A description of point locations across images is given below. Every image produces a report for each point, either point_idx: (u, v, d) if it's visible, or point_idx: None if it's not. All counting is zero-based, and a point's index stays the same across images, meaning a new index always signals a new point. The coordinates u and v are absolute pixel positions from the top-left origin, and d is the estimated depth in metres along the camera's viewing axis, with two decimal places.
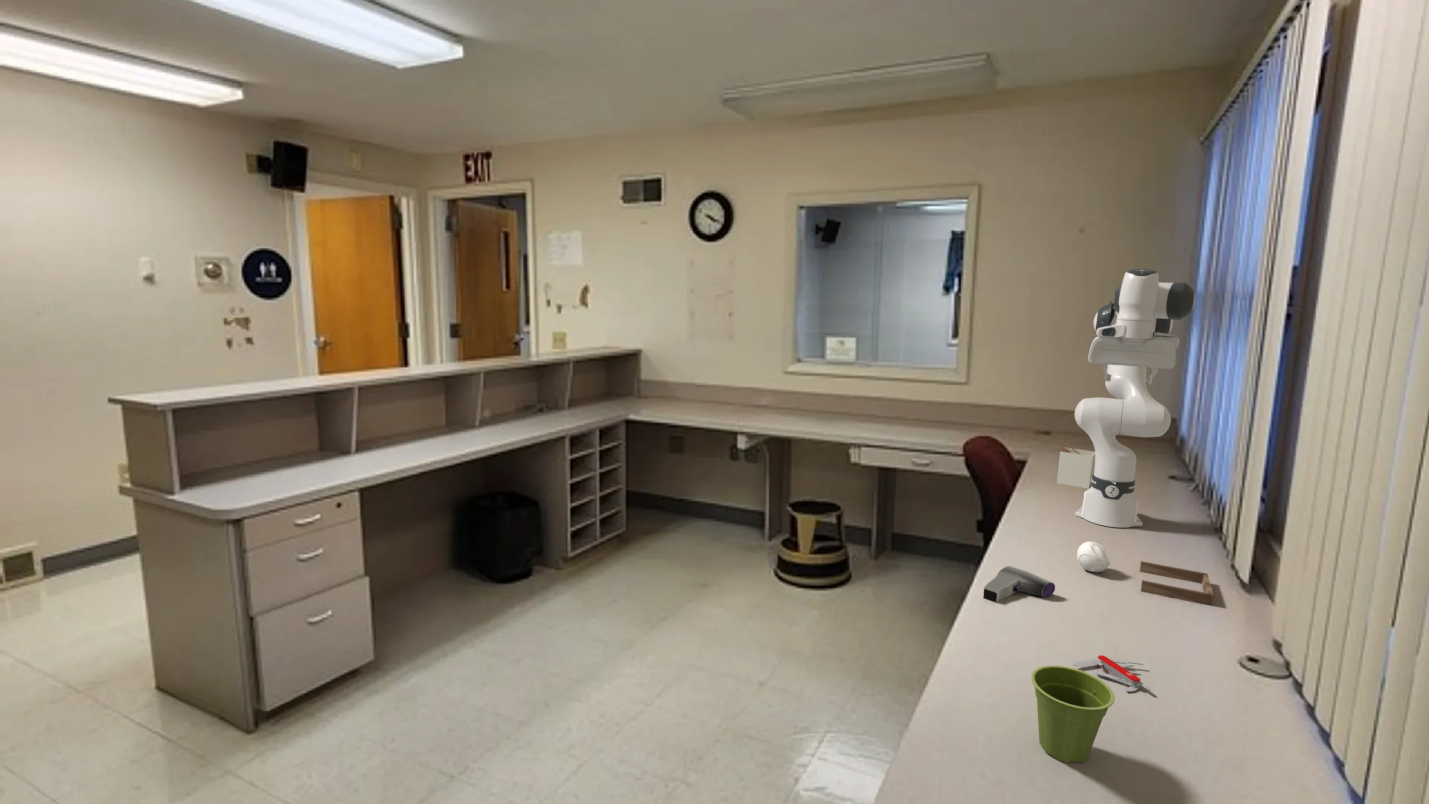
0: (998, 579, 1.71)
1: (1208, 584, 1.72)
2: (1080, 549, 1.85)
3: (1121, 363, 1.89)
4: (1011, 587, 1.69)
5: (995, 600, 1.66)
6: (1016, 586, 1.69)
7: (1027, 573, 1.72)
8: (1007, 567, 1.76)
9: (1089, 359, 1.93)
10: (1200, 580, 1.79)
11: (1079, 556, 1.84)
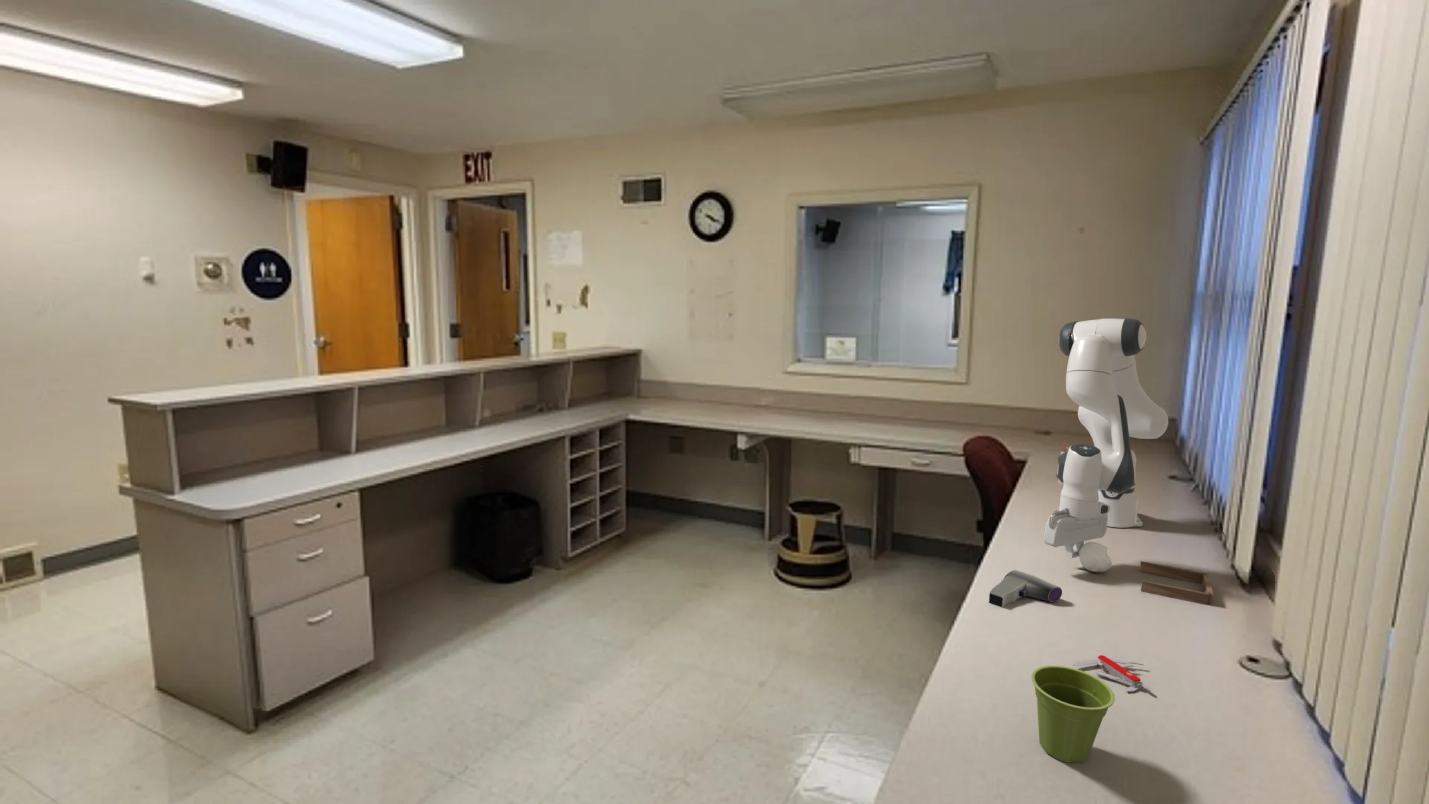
0: (1004, 583, 1.69)
1: (1208, 584, 1.72)
2: (1082, 549, 1.84)
3: None
4: (1017, 592, 1.67)
5: (1001, 605, 1.63)
6: (1022, 591, 1.67)
7: (1034, 577, 1.70)
8: (1013, 571, 1.73)
9: None
10: (1200, 580, 1.79)
11: (1081, 556, 1.84)
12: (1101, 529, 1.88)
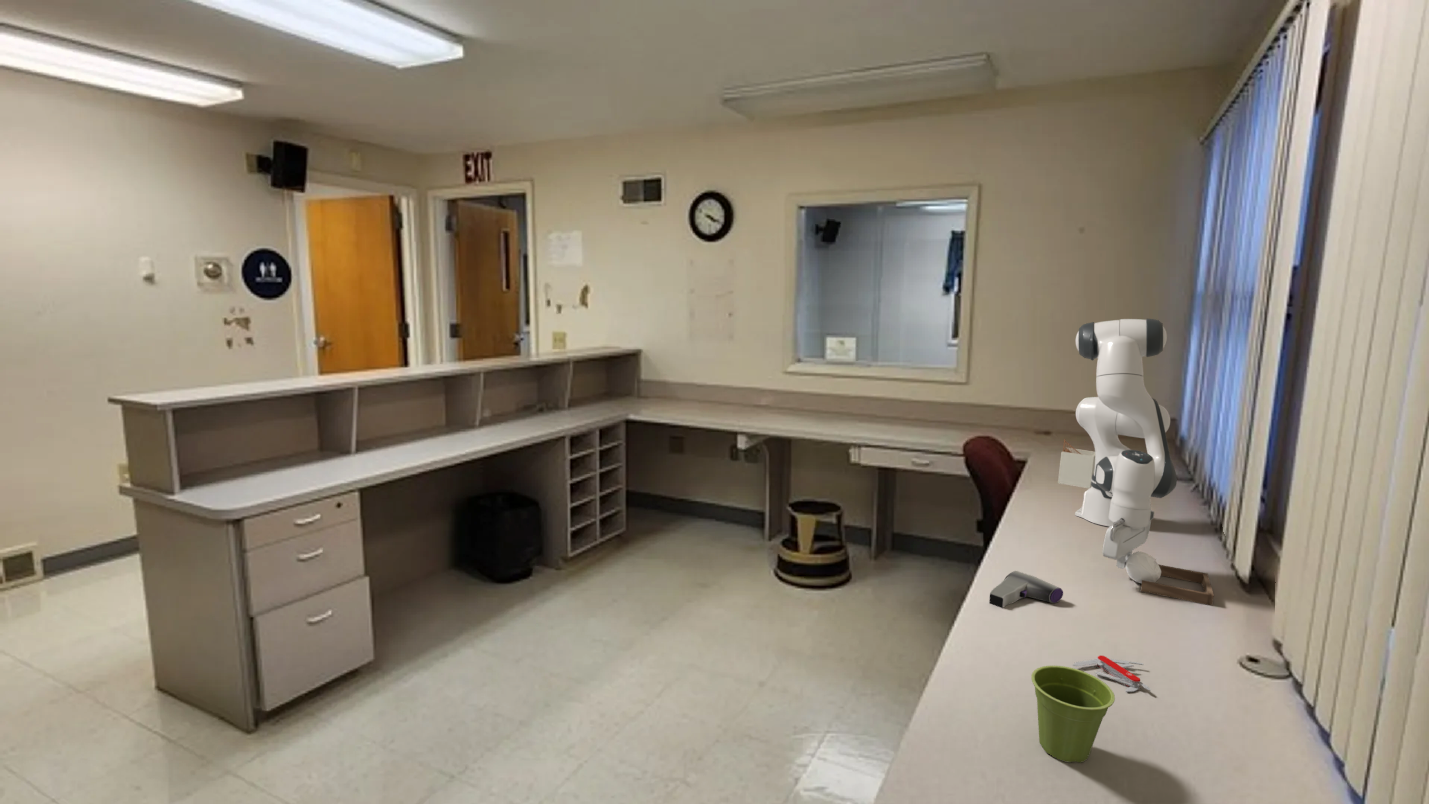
0: (1005, 584, 1.68)
1: (1208, 584, 1.72)
2: (1128, 558, 1.79)
3: None
4: (1018, 592, 1.66)
5: (1001, 605, 1.63)
6: (1023, 591, 1.67)
7: (1034, 578, 1.69)
8: (1014, 572, 1.73)
9: None
10: (1200, 580, 1.79)
11: None
12: (1144, 536, 1.84)
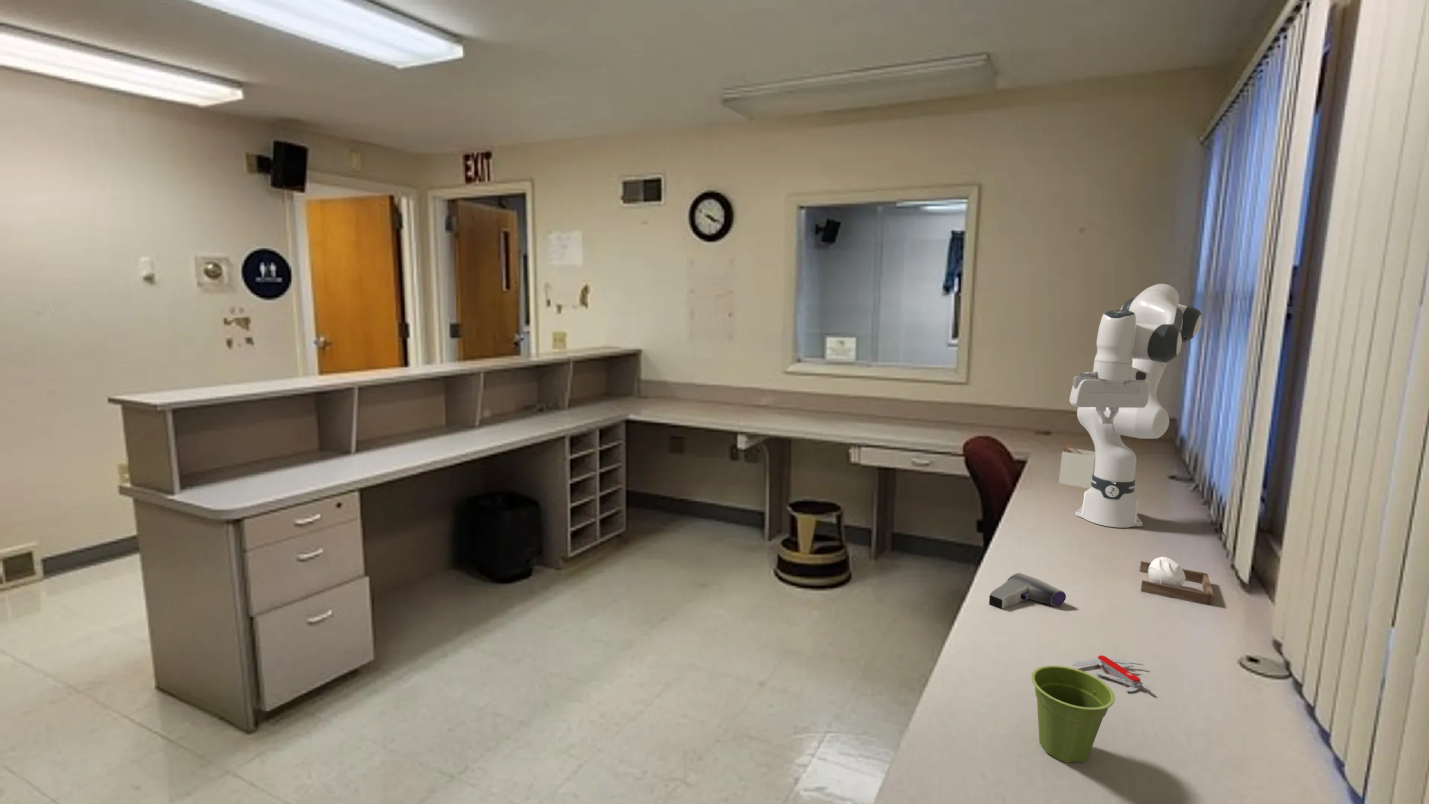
0: (1006, 586, 1.67)
1: (1208, 584, 1.72)
2: (1151, 562, 1.77)
3: None
4: (1019, 594, 1.65)
5: (1000, 607, 1.62)
6: (1024, 594, 1.66)
7: (1037, 581, 1.68)
8: (1017, 574, 1.72)
9: None
10: (1200, 580, 1.79)
11: (1148, 569, 1.77)
12: (1140, 398, 1.87)
